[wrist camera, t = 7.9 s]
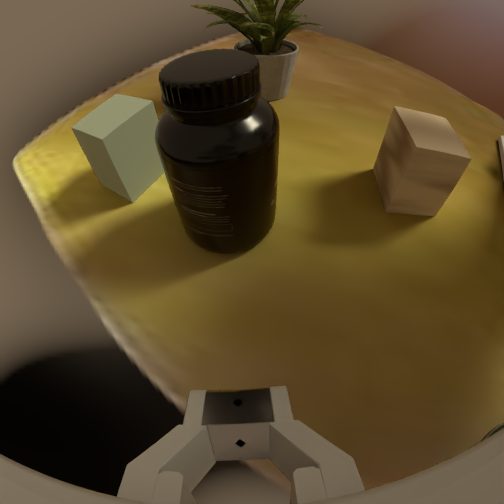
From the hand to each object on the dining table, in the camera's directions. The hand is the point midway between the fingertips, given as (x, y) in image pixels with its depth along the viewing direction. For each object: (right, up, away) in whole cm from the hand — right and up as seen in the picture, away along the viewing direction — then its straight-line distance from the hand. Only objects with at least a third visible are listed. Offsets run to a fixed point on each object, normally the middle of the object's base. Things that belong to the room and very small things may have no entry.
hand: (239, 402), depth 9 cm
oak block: (+14, +10, +14) cm, 22 cm away
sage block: (-10, +12, +16) cm, 22 cm away
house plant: (+3, +25, +24) cm, 35 cm away
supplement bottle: (-1, +7, +13) cm, 15 cm away
